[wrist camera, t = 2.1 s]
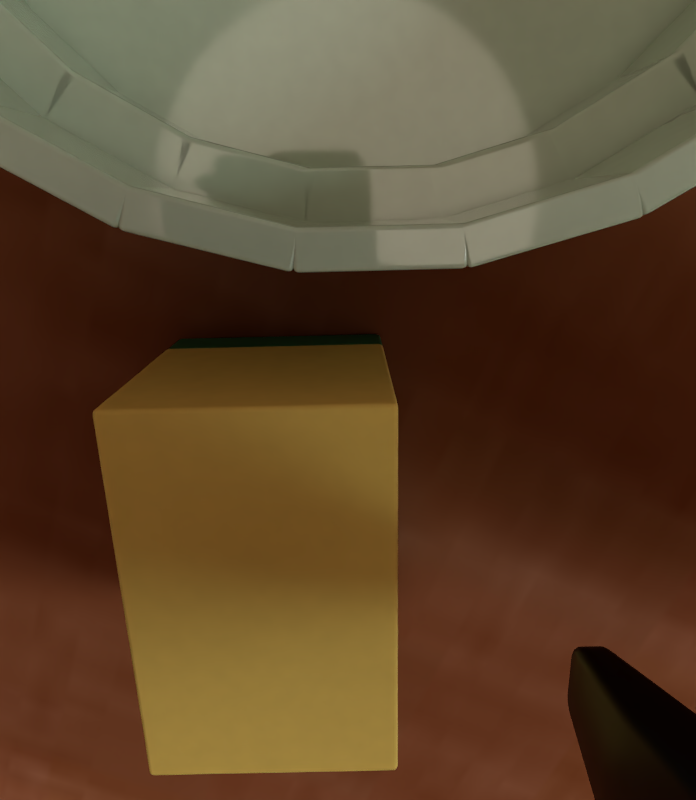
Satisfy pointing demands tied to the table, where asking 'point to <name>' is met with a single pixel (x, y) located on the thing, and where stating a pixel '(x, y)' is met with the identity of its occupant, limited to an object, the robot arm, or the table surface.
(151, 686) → the sponge
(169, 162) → the bowl
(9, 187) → the table surface
